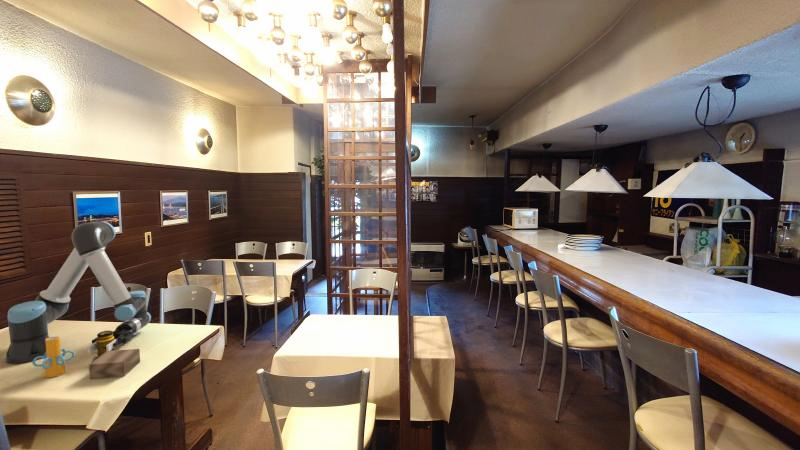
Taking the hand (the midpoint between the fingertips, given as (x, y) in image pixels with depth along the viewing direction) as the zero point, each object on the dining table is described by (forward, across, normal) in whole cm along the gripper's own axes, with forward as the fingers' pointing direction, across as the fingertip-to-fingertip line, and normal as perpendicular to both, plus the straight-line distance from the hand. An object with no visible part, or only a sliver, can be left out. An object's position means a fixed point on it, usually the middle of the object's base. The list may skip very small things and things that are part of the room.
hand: (98, 349), depth 149 cm
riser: (+7, -10, -7) cm, 14 cm away
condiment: (-5, +1, -7) cm, 8 cm away
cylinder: (+6, +12, -7) cm, 15 cm away
